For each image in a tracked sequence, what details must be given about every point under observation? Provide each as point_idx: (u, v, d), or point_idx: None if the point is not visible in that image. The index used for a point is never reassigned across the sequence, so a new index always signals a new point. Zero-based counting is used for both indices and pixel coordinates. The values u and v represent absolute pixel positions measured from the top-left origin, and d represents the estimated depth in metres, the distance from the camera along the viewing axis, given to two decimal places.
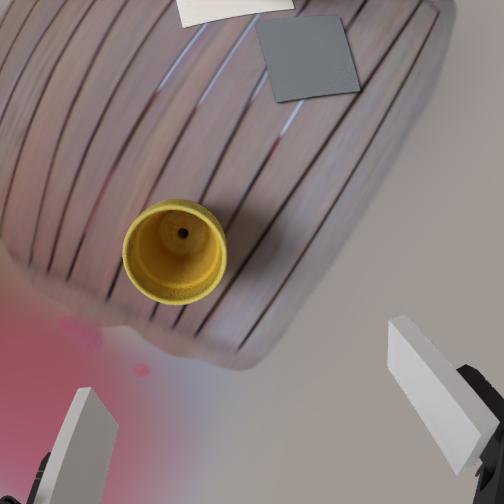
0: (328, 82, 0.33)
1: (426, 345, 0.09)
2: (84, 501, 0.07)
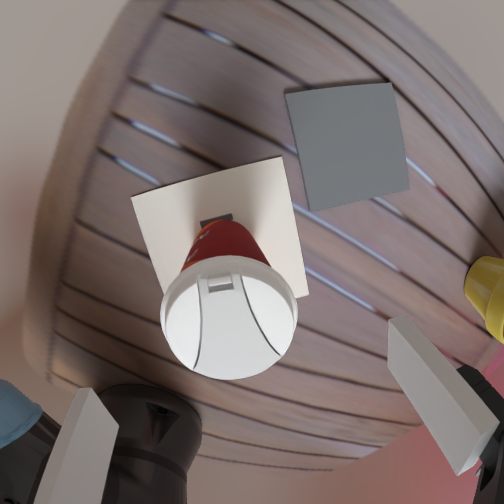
0: (387, 123, 0.26)
1: (426, 345, 0.09)
2: (84, 501, 0.07)
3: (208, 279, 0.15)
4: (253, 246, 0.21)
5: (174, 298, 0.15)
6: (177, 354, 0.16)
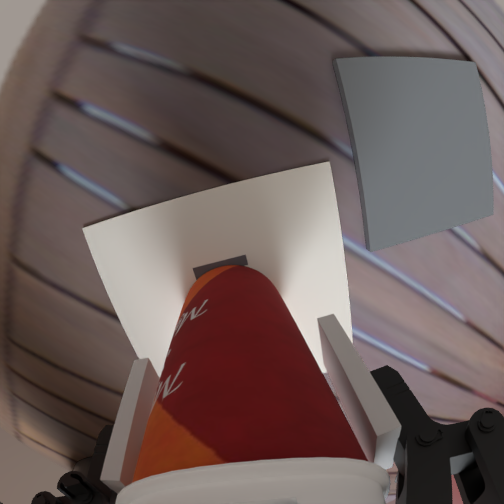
0: (473, 119, 0.15)
1: (345, 344, 0.11)
2: None
3: None
4: (297, 352, 0.10)
5: None
6: None
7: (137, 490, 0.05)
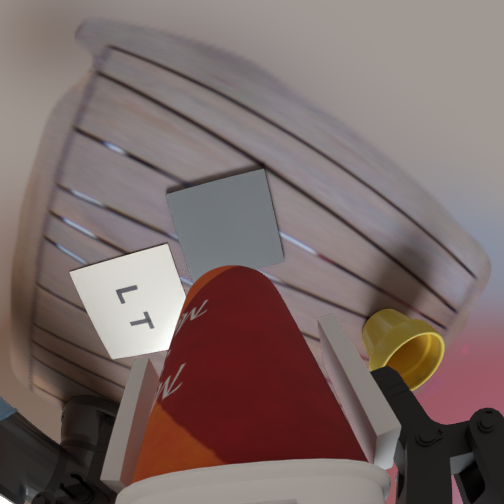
0: (258, 207, 0.34)
1: (345, 344, 0.11)
2: None
3: None
4: (298, 353, 0.10)
5: None
6: None
7: (137, 491, 0.05)
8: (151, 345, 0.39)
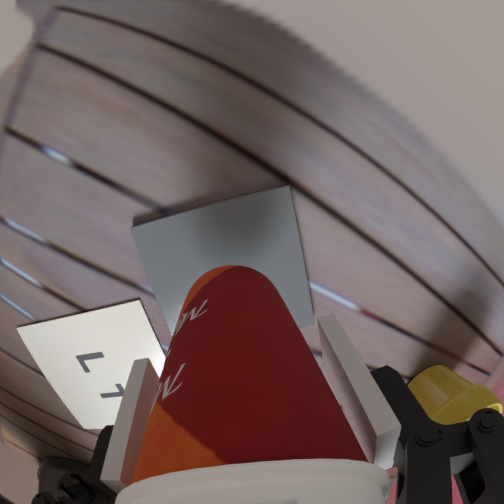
0: (279, 248, 0.22)
1: (345, 344, 0.11)
2: None
3: None
4: (298, 353, 0.10)
5: None
6: None
7: (137, 491, 0.05)
8: None
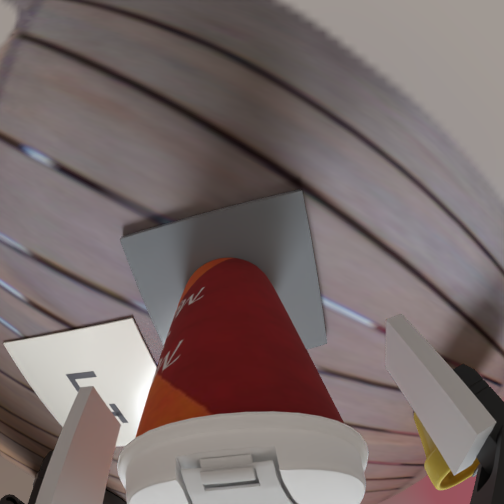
0: (290, 262, 0.19)
1: (423, 345, 0.09)
2: (86, 500, 0.07)
3: (202, 474, 0.05)
4: (284, 332, 0.11)
5: (134, 486, 0.05)
6: None
7: (137, 445, 0.06)
8: (127, 439, 0.24)
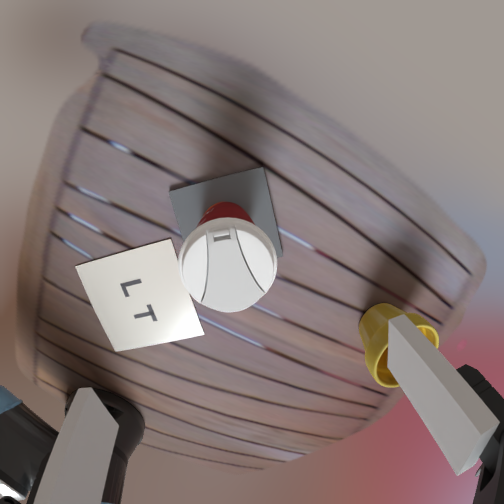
0: (258, 204, 0.36)
1: (426, 345, 0.09)
2: (84, 501, 0.07)
3: (213, 232, 0.22)
4: (246, 217, 0.28)
5: (189, 246, 0.22)
6: (189, 289, 0.23)
7: (192, 233, 0.23)
8: (154, 337, 0.41)
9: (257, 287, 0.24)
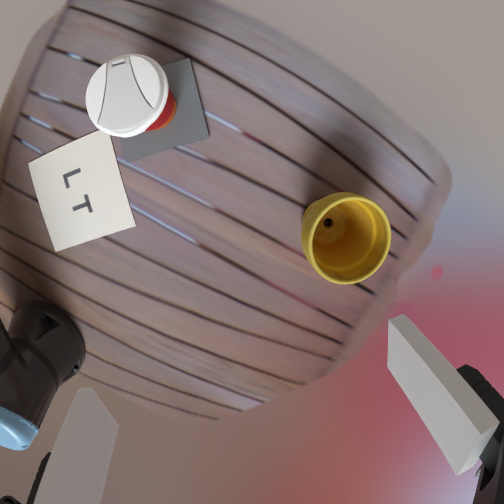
0: (184, 89, 0.34)
1: (426, 345, 0.09)
2: (84, 501, 0.07)
3: (112, 60, 0.20)
4: None
5: None
6: (89, 111, 0.22)
7: None
8: (89, 232, 0.39)
9: (145, 103, 0.22)
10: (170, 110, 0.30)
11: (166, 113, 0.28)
